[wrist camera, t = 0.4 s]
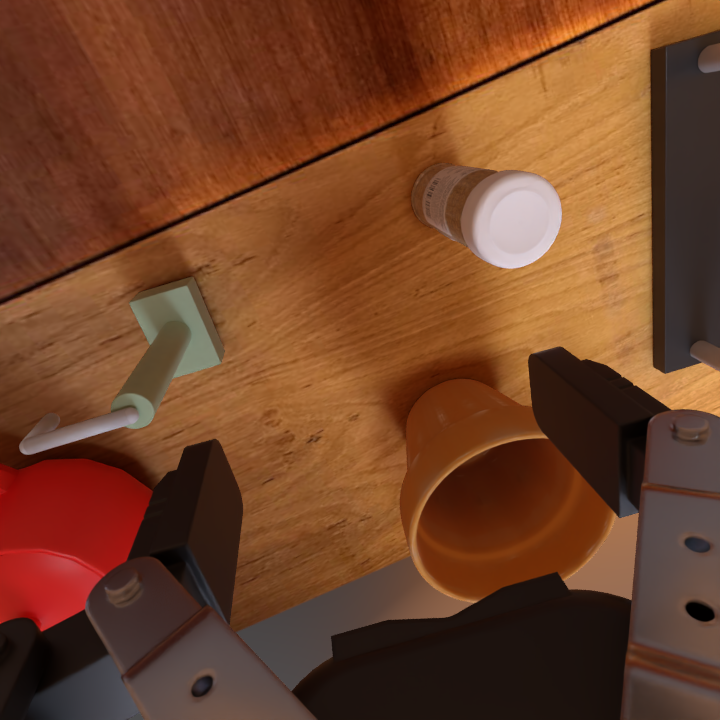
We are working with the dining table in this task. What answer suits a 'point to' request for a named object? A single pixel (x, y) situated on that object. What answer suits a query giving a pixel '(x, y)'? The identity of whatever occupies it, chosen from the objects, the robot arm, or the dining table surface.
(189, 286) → the peg on square base
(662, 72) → the rack
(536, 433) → the flower pot
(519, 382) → the dining table surface
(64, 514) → the teapot
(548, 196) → the sprinkles bottle
